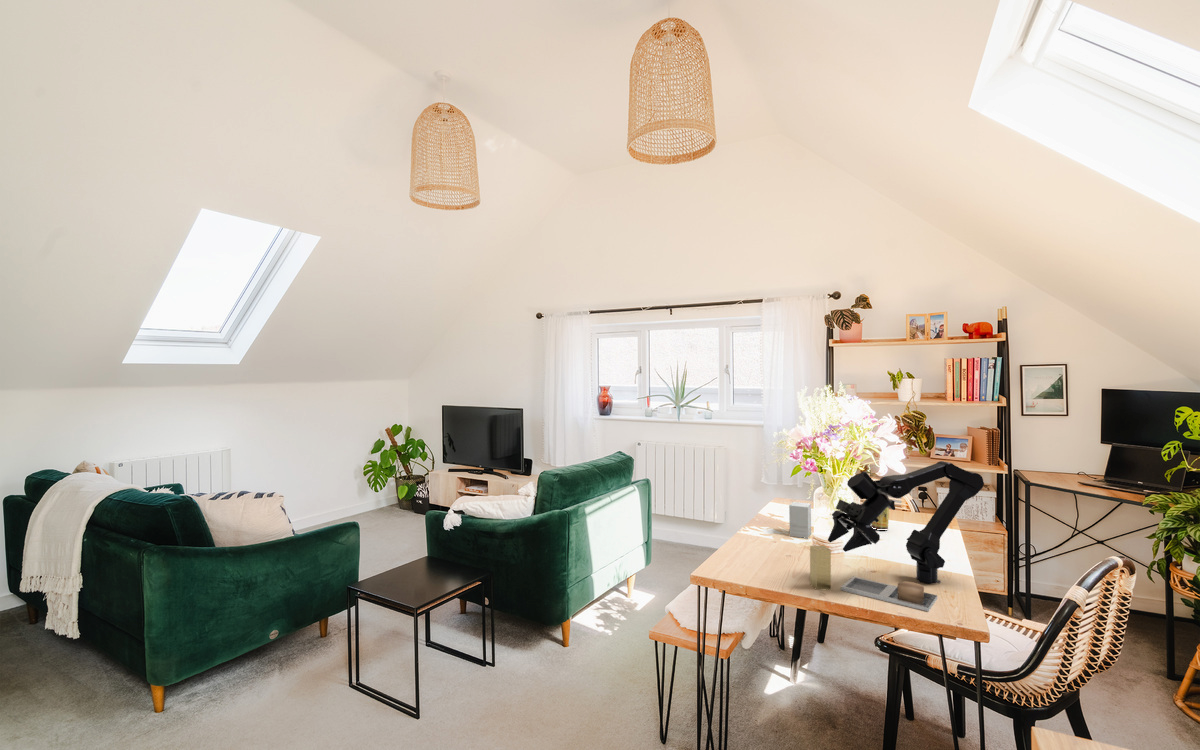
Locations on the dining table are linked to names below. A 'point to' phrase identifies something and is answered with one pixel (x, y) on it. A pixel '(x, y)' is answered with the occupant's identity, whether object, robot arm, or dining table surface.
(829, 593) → the dining table surface
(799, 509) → the supplement box
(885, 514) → the sauce bottle
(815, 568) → the block
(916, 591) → the walnut puck
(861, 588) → the tray
